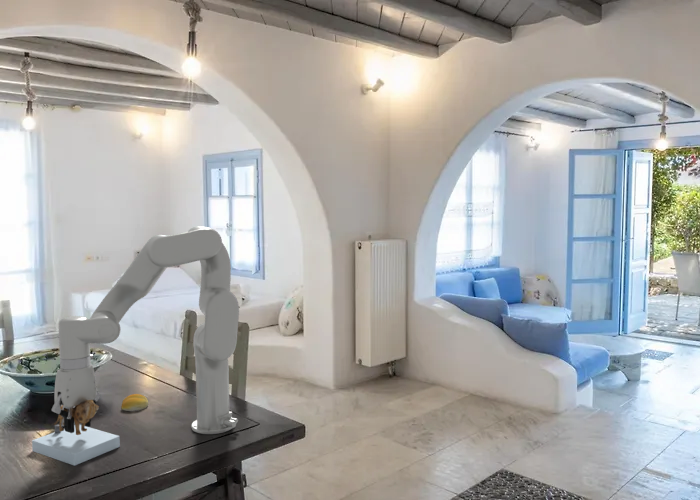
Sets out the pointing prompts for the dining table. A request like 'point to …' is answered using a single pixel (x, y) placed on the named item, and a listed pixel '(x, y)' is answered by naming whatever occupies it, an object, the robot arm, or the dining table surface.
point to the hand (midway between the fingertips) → (77, 428)
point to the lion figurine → (80, 415)
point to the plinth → (75, 444)
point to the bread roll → (134, 402)
